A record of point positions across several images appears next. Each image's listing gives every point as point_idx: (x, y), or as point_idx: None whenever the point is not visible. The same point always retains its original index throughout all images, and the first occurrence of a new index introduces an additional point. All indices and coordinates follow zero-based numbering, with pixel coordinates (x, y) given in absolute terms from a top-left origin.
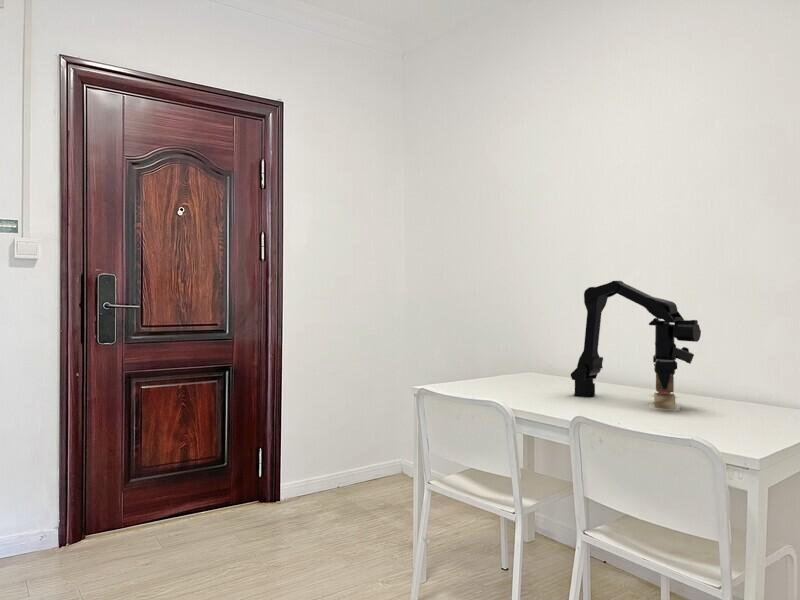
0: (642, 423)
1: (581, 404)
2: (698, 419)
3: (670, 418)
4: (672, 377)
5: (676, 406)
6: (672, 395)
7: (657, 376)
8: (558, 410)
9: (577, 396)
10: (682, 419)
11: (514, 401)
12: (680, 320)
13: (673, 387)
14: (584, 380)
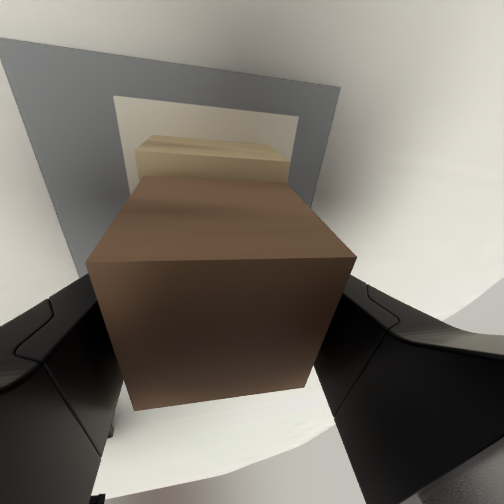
0: (469, 273)
1: (223, 401)
2: (480, 51)
3: (428, 190)
4: (344, 263)
5: (170, 120)
6: (234, 175)
7: (304, 379)
8: (309, 410)
9: (111, 430)
10: (457, 142)
11: (229, 464)
12: None
13: (300, 198)
14: (94, 496)
